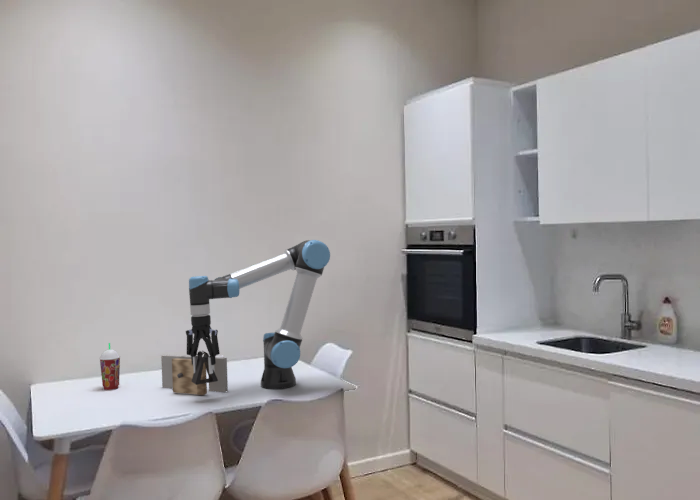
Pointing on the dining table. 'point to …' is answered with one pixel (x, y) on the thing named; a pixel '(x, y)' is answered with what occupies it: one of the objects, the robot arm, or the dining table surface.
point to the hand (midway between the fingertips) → (204, 372)
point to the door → (186, 377)
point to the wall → (167, 359)
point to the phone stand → (199, 368)
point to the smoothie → (110, 369)
